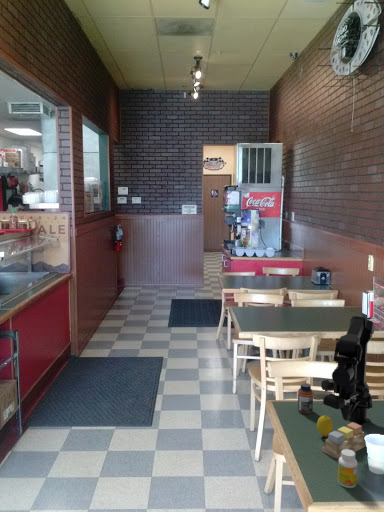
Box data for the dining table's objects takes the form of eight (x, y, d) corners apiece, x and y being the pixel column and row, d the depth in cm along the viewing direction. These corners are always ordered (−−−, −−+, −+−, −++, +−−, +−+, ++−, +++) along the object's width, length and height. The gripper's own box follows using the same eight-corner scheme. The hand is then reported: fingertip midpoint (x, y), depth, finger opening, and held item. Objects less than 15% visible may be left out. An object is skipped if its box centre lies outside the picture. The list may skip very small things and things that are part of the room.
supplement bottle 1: (300, 407, 195) (300, 380, 194) (314, 410, 192) (315, 383, 191) (295, 412, 190) (296, 385, 189) (310, 415, 187) (310, 388, 186)
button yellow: (343, 437, 163) (343, 426, 163) (352, 441, 161) (353, 430, 160) (337, 440, 161) (337, 429, 161) (346, 444, 158) (346, 433, 158)
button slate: (334, 441, 160) (334, 430, 160) (343, 445, 157) (344, 434, 157) (328, 444, 158) (328, 433, 158) (337, 449, 155) (337, 437, 155)
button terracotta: (352, 432, 167) (352, 422, 166) (361, 436, 164) (361, 425, 163) (346, 435, 164) (346, 424, 164) (355, 439, 162) (355, 428, 161)
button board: (349, 437, 169) (349, 425, 168) (366, 445, 163) (367, 433, 163) (322, 451, 159) (322, 438, 159) (339, 460, 154) (340, 447, 153)
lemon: (329, 432, 172) (330, 412, 172) (334, 440, 167) (335, 418, 166) (314, 433, 172) (315, 412, 171) (319, 440, 167) (319, 419, 166)
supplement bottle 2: (334, 483, 141) (335, 452, 140) (343, 475, 145) (344, 446, 144) (351, 490, 137) (352, 459, 136) (359, 483, 141) (361, 452, 140)
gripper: (343, 364, 171) (341, 405, 172) (310, 375, 159) (309, 419, 161) (371, 372, 162) (369, 415, 164) (338, 385, 151) (337, 431, 152)
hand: (345, 420), depth 160 cm, fingers closed
